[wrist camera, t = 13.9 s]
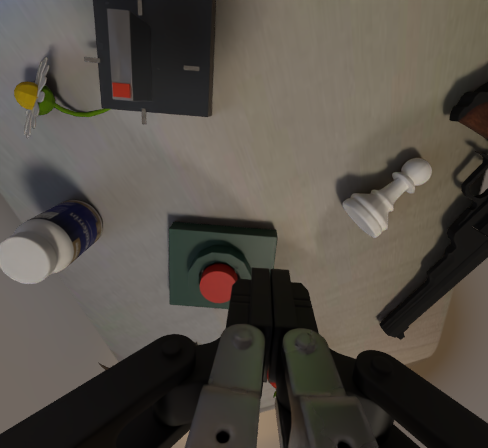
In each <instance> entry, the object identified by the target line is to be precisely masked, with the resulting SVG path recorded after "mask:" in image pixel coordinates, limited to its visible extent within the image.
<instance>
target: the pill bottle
mask: <svg viewBox="0 0 488 448" xmlns="http://www.w3.org/2000/svg"><path fill="white" fill-rule="evenodd" d="M101 233H102V220H101V218H100V216H99V214H98V213H97V211H96V210H95V209H94V208H93V207H92V206H90V205H89V204H87V203H85V202H82V201H78V200H69V201H65V202H63V203H60V204H59V205H57V206H55V207H53V208H51V209H49V210H47V211H45V212H43V213H41V214H39V215H37V216H35V217H33V218H32V219H30V220H27V221H26V222H24V223H23V224H21V225H20V226H19V227H18V228H17V229H16V231H15V232H14V235H12V236H10V237H9V238H7V239H5V240H4V241H3V242H2V243H1V244H0V268H1V269H2V270H3V272H4V273H5V274H6V275H8V276H9V277H10V278H12V279H13V280H15V281H18V282H21V283H25V284H34V283H38V282H41V281H42V280H44V279H45V278H46V277H48V276H49V275H50V274H51V273H56V272H59V271H61V270H63V269H65V268H66V267H67V266H69V265H70V264H71V263H72V262H73V261H74V260H75V259H77V258H78V257H79V256H80V255H81V254H82V253H83V252H84V251H86V250H87V249H88V248H89V247H90V246H91V245H92V244H94V243H95V242H96V241H97V240H98V238H99V237H100V235H101Z"/></svg>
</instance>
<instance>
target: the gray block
mask: <svg viewBox="0 0 488 448" xmlns="http://www.w3.org/2000/svg"><path fill="white" fill-rule="evenodd" d="M107 17H108V33H109V48H110V64H111V79H112V95H113V99H116V100H127V101H152V81H151V37H150V26H149V25H148V24H147V23H145V22H144V21H142V20H141V19H140V18H138V17H137V16H136V15H134V14H133V13H132V12H130V11H129V10H118V9H107Z"/></svg>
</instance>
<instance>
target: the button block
mask: <svg viewBox="0 0 488 448" xmlns="http://www.w3.org/2000/svg"><path fill="white" fill-rule="evenodd" d="M276 245H277V233H276V230H270V229H258V228H246V227H233V226H221V225H209V224H196V223H184V222H173V223H172V225H171V226H170V228H169V284H170V304H171V305H184V306H196V307H209V308H222V309H229V304H230V300H229V301H227V302H224V303H214V302H211V301H209V300H207V299H206V298H205V297H204V296H203V295H202V293H201V291H200V281H201V278H202V274H203V272H204V270H205V269H206V268H207V267H208V266H210V265H213V264H217V263H221V264H226V265H228V266H230V267H231V268H232V269H233V270H234V271H235V272H236V274H237V278H238V279H251V274H252V267H253V268H267V269H270V270H271V269H274V261H275V253H276Z"/></svg>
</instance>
